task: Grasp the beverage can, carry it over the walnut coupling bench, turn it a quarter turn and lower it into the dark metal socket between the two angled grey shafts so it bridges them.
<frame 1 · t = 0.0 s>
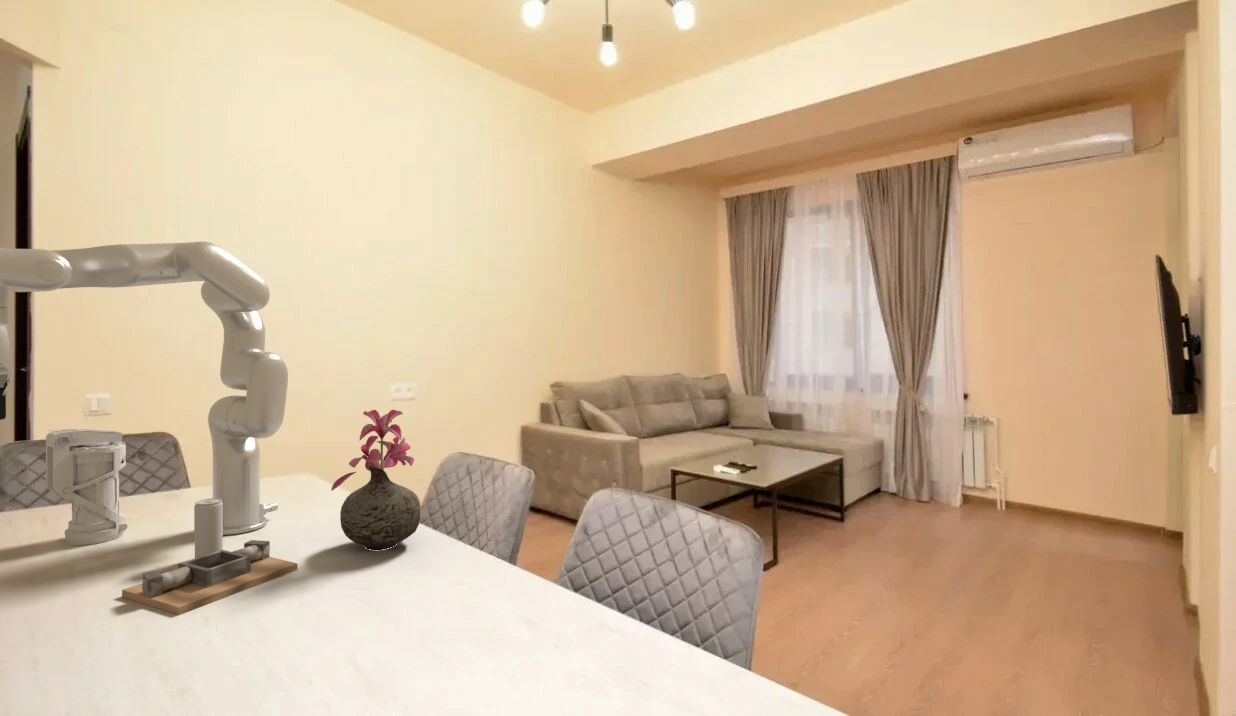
coupling bench: (215, 582, 112), on the table
vase: (378, 547, 133), on the table
beverage can: (208, 559, 124), on the table
lantern: (88, 540, 134), on the table
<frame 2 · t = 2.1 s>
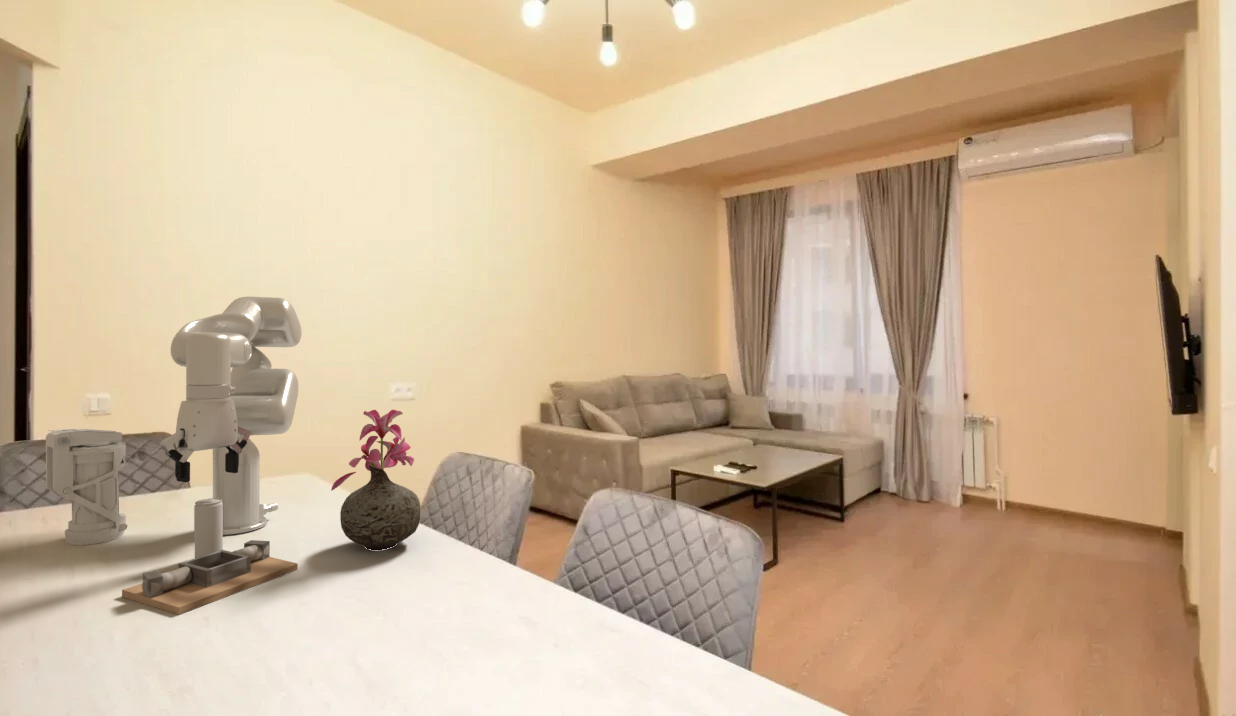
hand: (208, 476, 123), 17 cm above the table, fingers open, 9 cm apart
nothing on the table moved.
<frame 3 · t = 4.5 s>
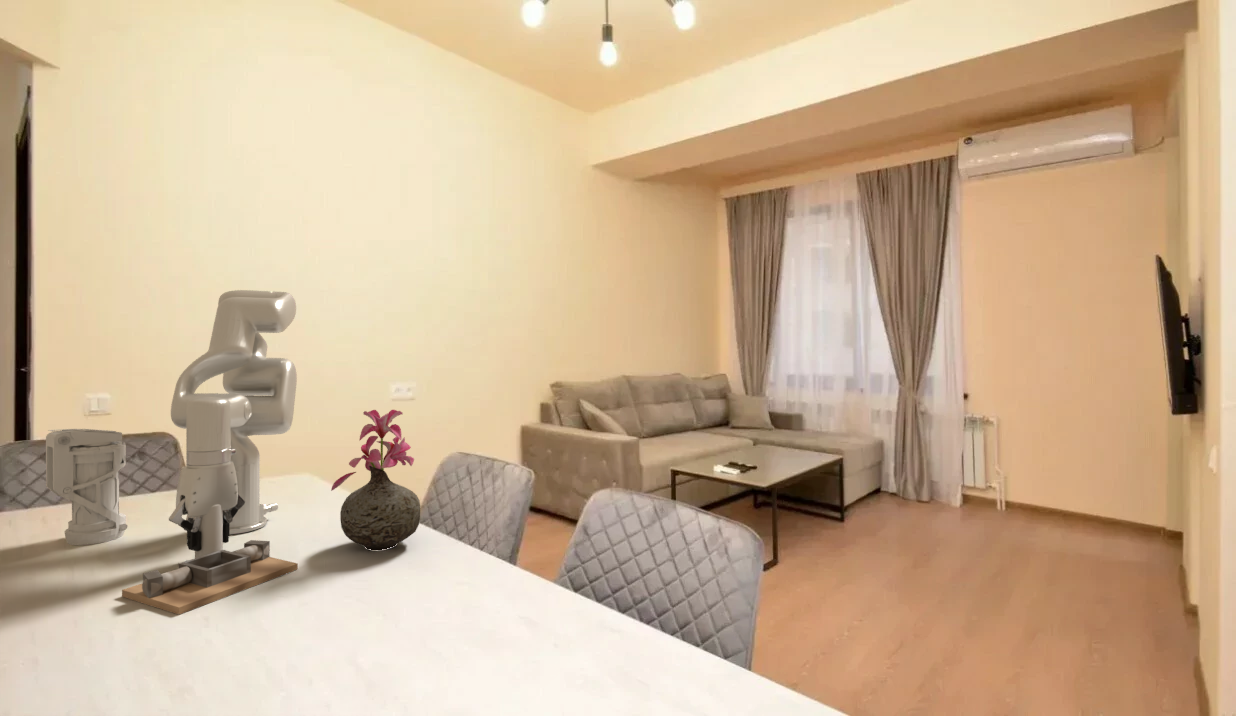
hand: (208, 544, 124), 3 cm above the table, fingers closed on beverage can, 4 cm apart
beverage can: (208, 559, 124), on the table, touching gripper
everything else where it was.
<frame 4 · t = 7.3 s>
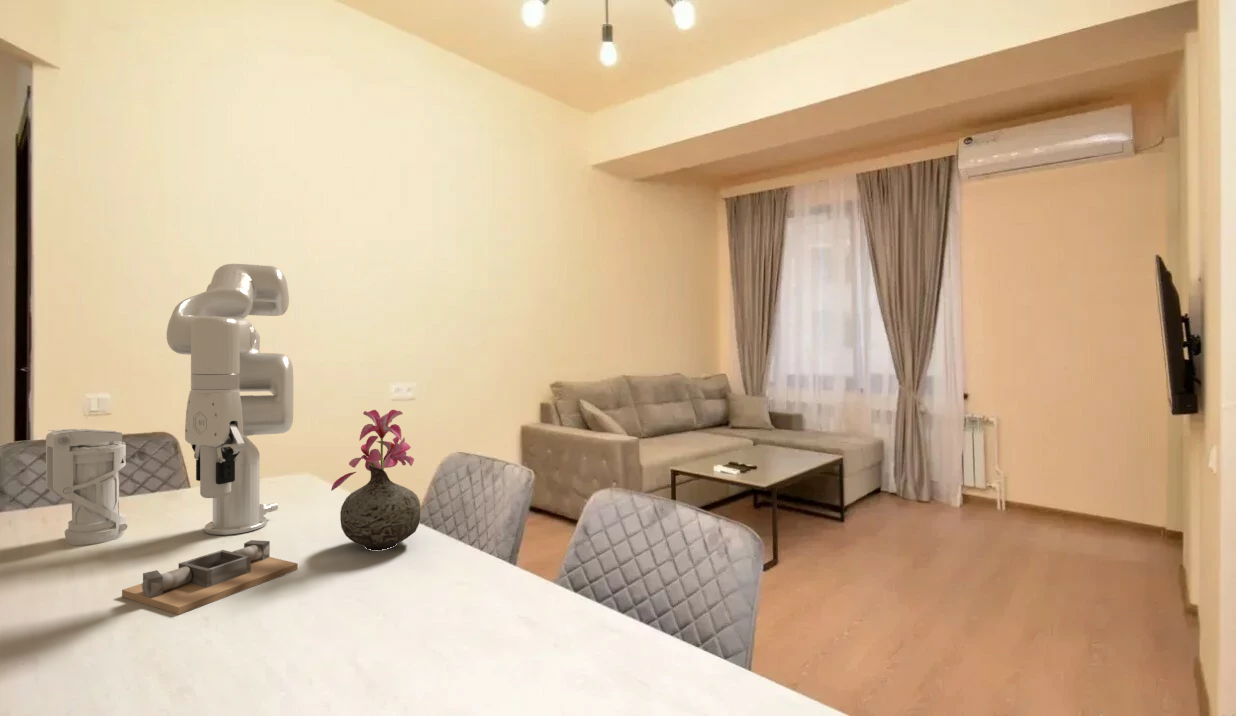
hand: (215, 480, 112), 19 cm above the table, fingers closed on beverage can, 4 cm apart
beverage can: (215, 496, 112), point 16 cm above the table, touching gripper
everything else where it was.
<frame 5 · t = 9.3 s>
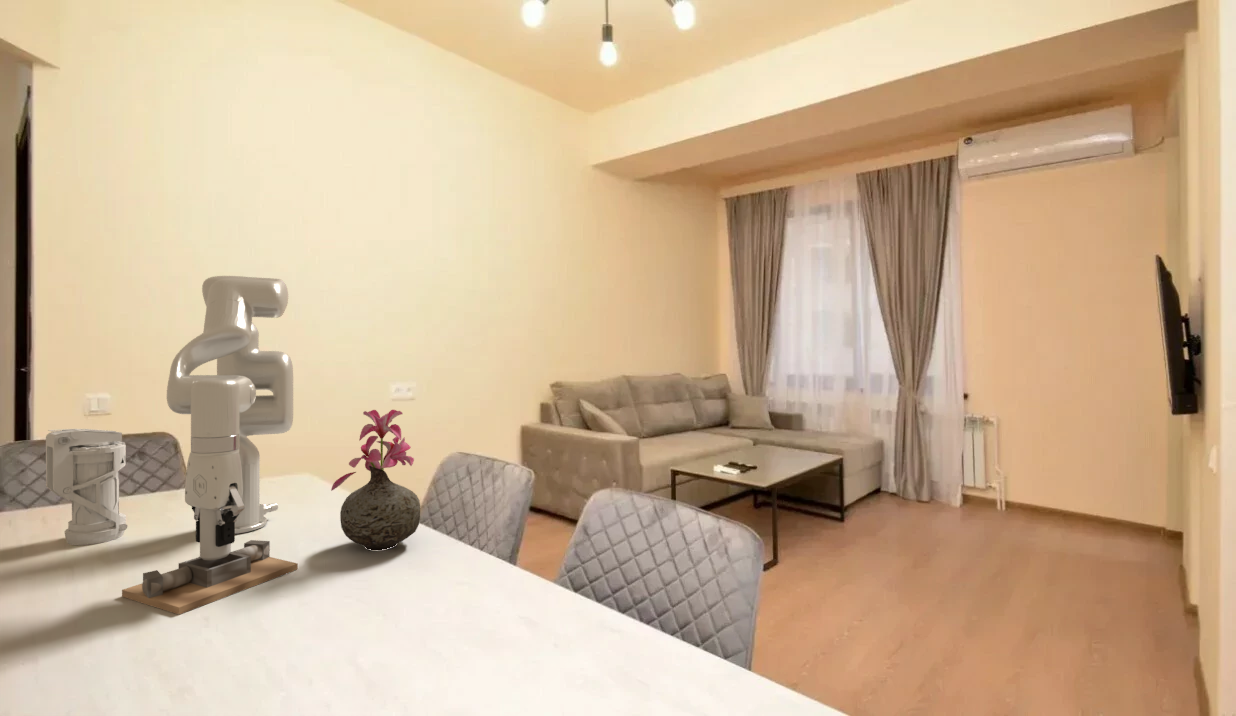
hand: (215, 541, 112), 8 cm above the table, fingers closed on beverage can, 4 cm apart
beverage can: (215, 557, 112), point 5 cm above the table, touching gripper
everything else where it was.
when the fingers open (6 cm above the table, at t = 10.6 s): beverage can drops 2 cm, resting on coupling bench.
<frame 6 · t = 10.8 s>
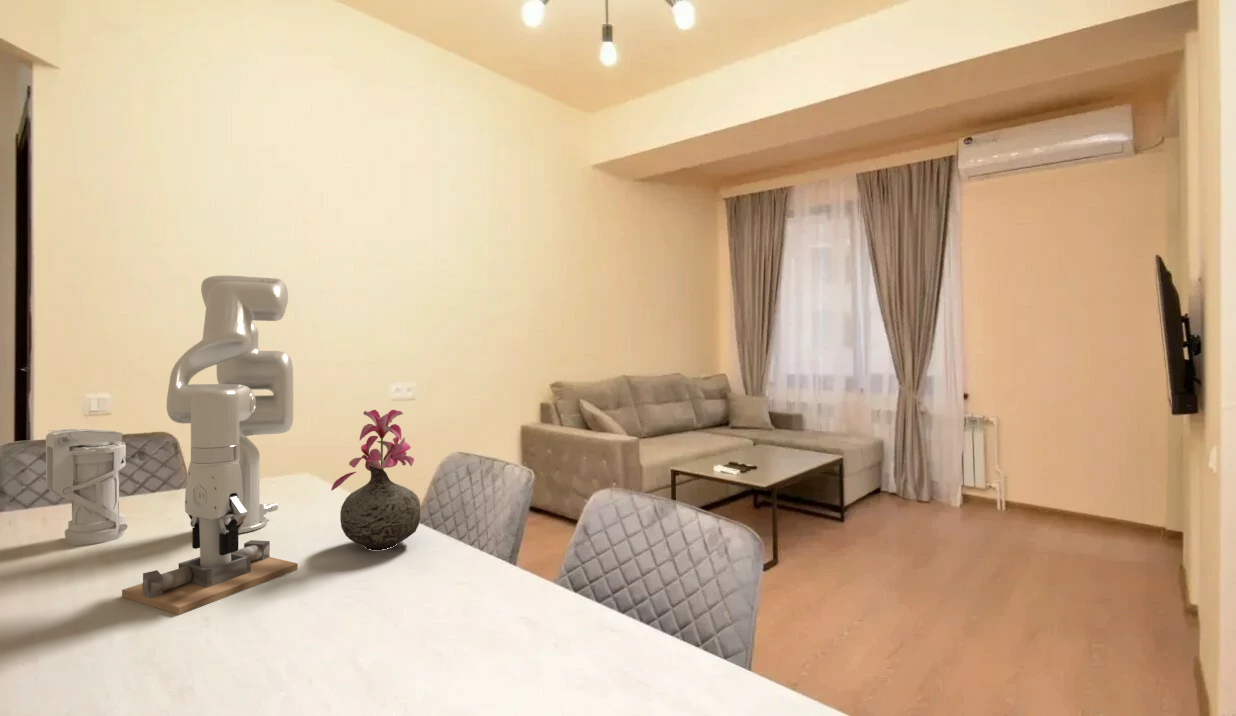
hand: (215, 549, 112), 6 cm above the table, fingers open, 7 cm apart
beverage can: (216, 576, 112), point 1 cm above the table, touching coupling bench
everything else where it was.
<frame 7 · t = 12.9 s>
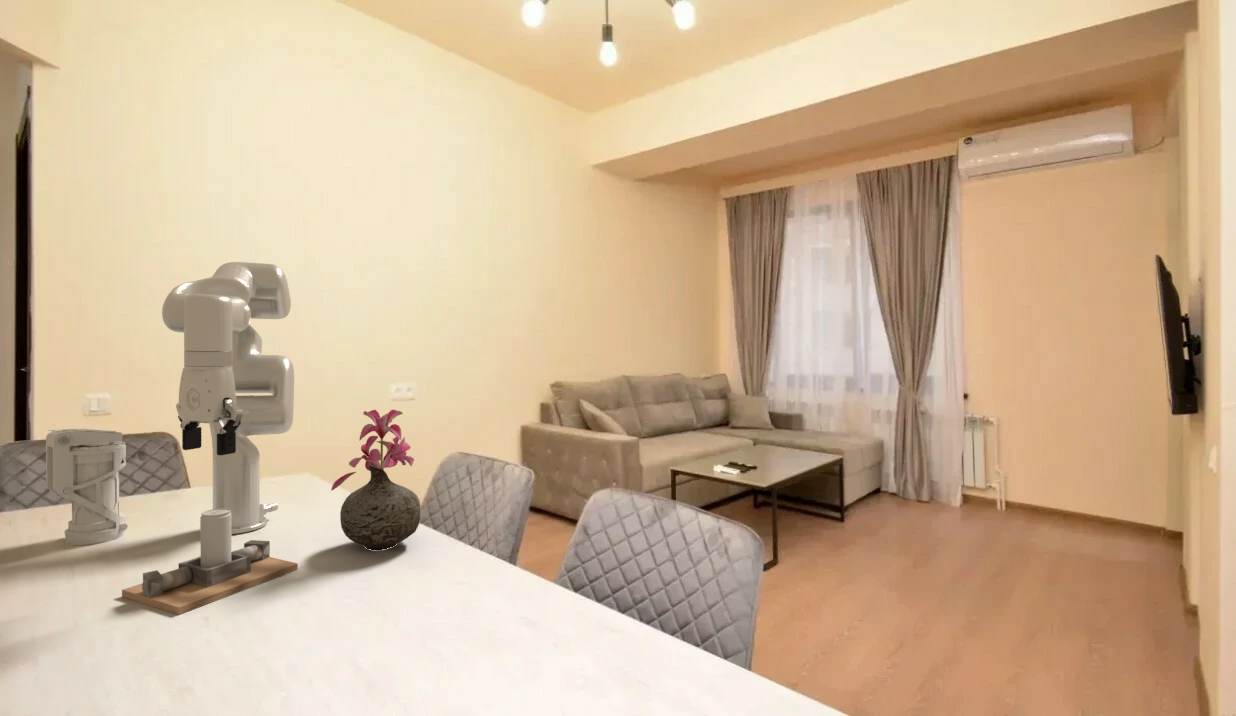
hand: (208, 451, 113), 24 cm above the table, fingers open, 9 cm apart
nothing on the table moved.
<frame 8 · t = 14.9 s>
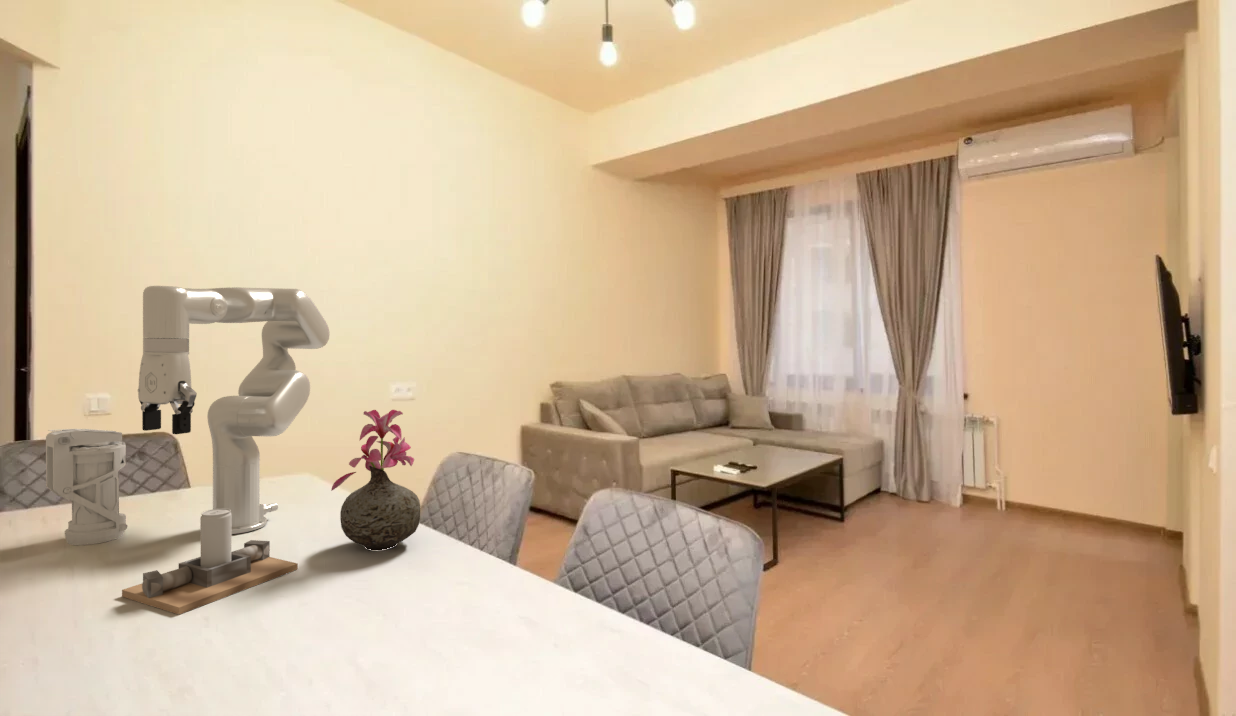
hand: (166, 431, 122), 26 cm above the table, fingers open, 9 cm apart
nothing on the table moved.
at the end: beverage can 0.1 cm from the coupling bench (horizontally); beverage can tilted 0°; beverage can point 1.0 cm above the table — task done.
